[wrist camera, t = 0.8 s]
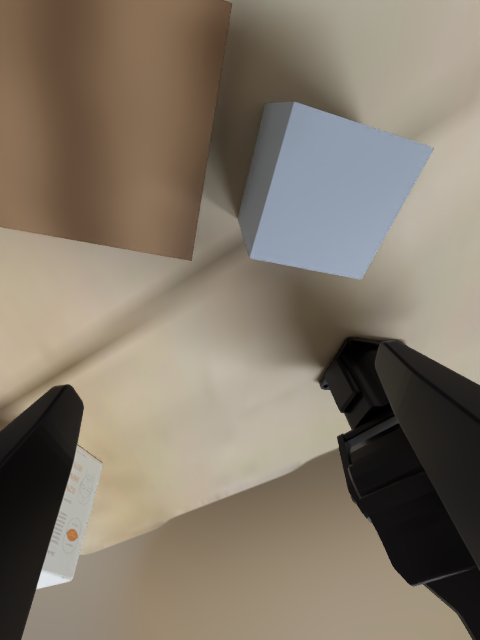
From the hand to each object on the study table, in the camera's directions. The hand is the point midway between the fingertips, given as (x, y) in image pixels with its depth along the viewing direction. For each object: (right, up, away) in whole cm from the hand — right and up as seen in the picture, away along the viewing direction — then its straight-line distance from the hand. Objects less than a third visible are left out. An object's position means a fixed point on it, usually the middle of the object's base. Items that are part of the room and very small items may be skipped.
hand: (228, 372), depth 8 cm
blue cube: (+4, +10, +9) cm, 14 cm away
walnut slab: (-7, +12, +7) cm, 15 cm away
